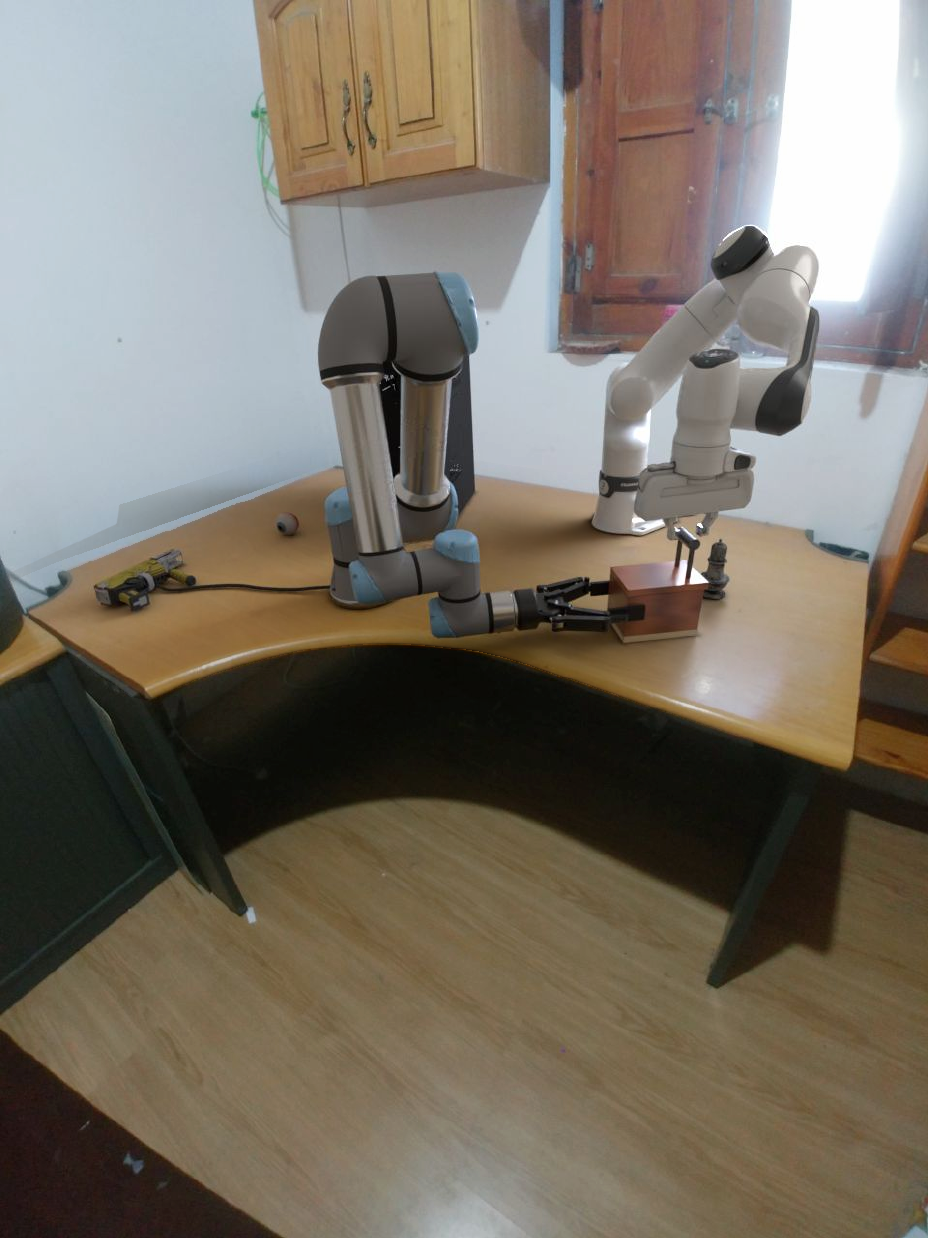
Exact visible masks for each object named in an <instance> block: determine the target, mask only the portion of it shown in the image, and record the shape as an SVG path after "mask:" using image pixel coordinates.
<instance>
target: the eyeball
mask: <svg viewBox="0 0 928 1238" xmlns="http://www.w3.org/2000/svg"><path fill="white" fill-rule="evenodd" d="M299 525H300V522H299V519H298V517H297V516H296V515H295V514H294V513H292V512H287V511H286V512H282V513H280V514H279V515H278V516H277V517H276V520H275V527H276V529H277V530H278V531H279V532H280V533H281V534H282V535H285V536H286V535H287V536H289V535H293V534H295V533H296V532H297V531H298V529H299Z"/></svg>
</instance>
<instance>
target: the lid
mask: <svg viewBox="0 0 928 1238" xmlns="http://www.w3.org/2000/svg"><path fill="white" fill-rule="evenodd" d="M677 529H678V530H680V535H679V537H680V538H679V540H677V544H676V552H675V558H674V560H671V561H660V562H650V563H639V564H637V563H636V564H627V565H617V566H610V568H609V569H610V570H609V575H610V574H611V575H612V576H613V578H614V579H615V580H616V582H617V583H618V584H619V586H620V587H621V588H622V590H623V591H624V592H625V594H626V595H627V596H628V597H631V596H641V595H651V594H662V593H672V592H682V591H692V590H702V589H708V585H709V582H708V581H707V580H706V579H705V578H704V577H703V576H702V575H701V574H700V572H699V571H698V570H696V569H695V568H694V567H693V565H694V559H695V554H696V553H695V552H696V550H698V549H699V548H700V547H701V541H700V540H699V539H698V538H697V537H696V536H694V535H693V534H692V533H691V532H690V531H688V530H687V529H686V528H685V527H683V526H681V527H678V528H677ZM683 545H684V546H685V547H686V548H688V549H689V551H688V557H687V560H686V559H681V557H682V550H683Z"/></svg>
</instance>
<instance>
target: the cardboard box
mask: <svg viewBox="0 0 928 1238" xmlns="http://www.w3.org/2000/svg"><path fill="white" fill-rule="evenodd" d="M470 364H471V363H470V355H469V356H467V355H463V363H462V369H461V371H460V373H459V374H458V375H457V376H456V377H454V378H453V379H452V384H451V395H450V407H449V419H448V431H447V443H446V455H445V467H444V475H445V476H446V477H447V478H448V480H449V481H450V482H451V483H452V484H453V486H454V488H455V490H456V494H457V499H458V506H457V509H458V517H460V515H461V513H462V512H463V510H464V509H465V507H466V506H467V504H468V503H469V501H470V500H471V499H472V497H473V495H474V494H475V492H476V482H475V480H476V477H475V459H474V457H475V455H474V432H473V412H472V410H473V409H472V388H471V387H472V386H471V367H470V366H471V365H470ZM383 370H384V378H383V379H382V381H381V382H380V385H379V388H380V394H381V401H382V407H383V414H384V421H385V427H386V434H387V440H388V447H389V453H390V460H391V467H392V473H393V480H394V478H395V476H396V475H397V474H398V473H399V472H400V449H401V375H400V374H399V373H398V372H397V371H396V370H395V369H394V367H393V365H392V361H390V362H383Z"/></svg>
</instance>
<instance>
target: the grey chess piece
mask: <svg viewBox="0 0 928 1238" xmlns="http://www.w3.org/2000/svg"><path fill="white" fill-rule="evenodd" d="M727 551H728V545H727V543H724V542H723V538H719V539H718V541H716V542H714V543H713V544H712V545H711V549H710V555H709V556H708V557H707V561H708V564H707V569H706V571H702V572H699V574H701V575H702V576H703V577H704V578H705V579H706V580H707V581H708V582H709V585H708V589H704V593H703V598H706V599H711V600H717V599H722V598H724V597H725V596H726V591H724V589H725V588H726V586H727V585H728V583H729V582H730V580H731V578H730V576H729V575H728V574H726V573H725V565H726V564H727V562H728V559H726V557H727Z"/></svg>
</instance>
